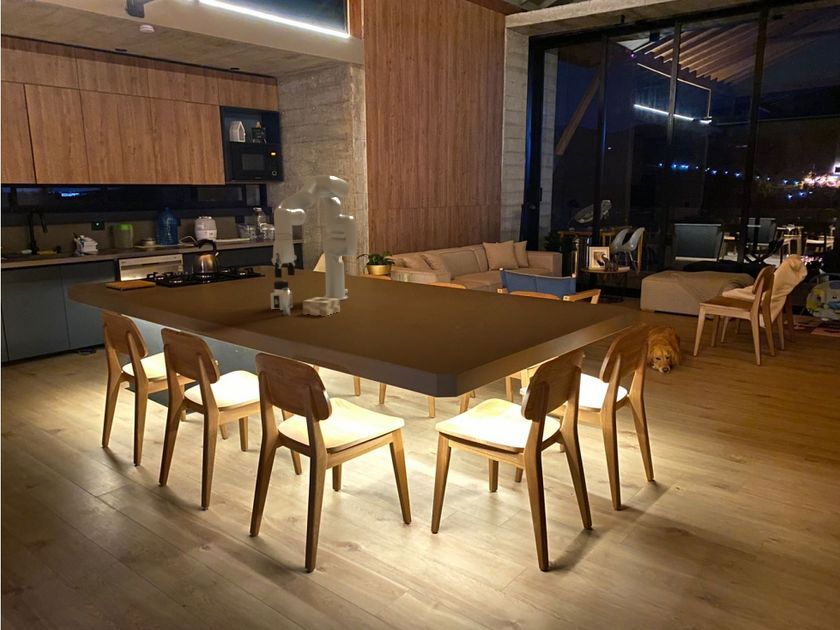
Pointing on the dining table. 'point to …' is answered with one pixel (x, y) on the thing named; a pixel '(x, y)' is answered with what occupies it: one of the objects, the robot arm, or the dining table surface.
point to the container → (279, 295)
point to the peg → (286, 301)
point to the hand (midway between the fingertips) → (284, 276)
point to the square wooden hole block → (321, 306)
